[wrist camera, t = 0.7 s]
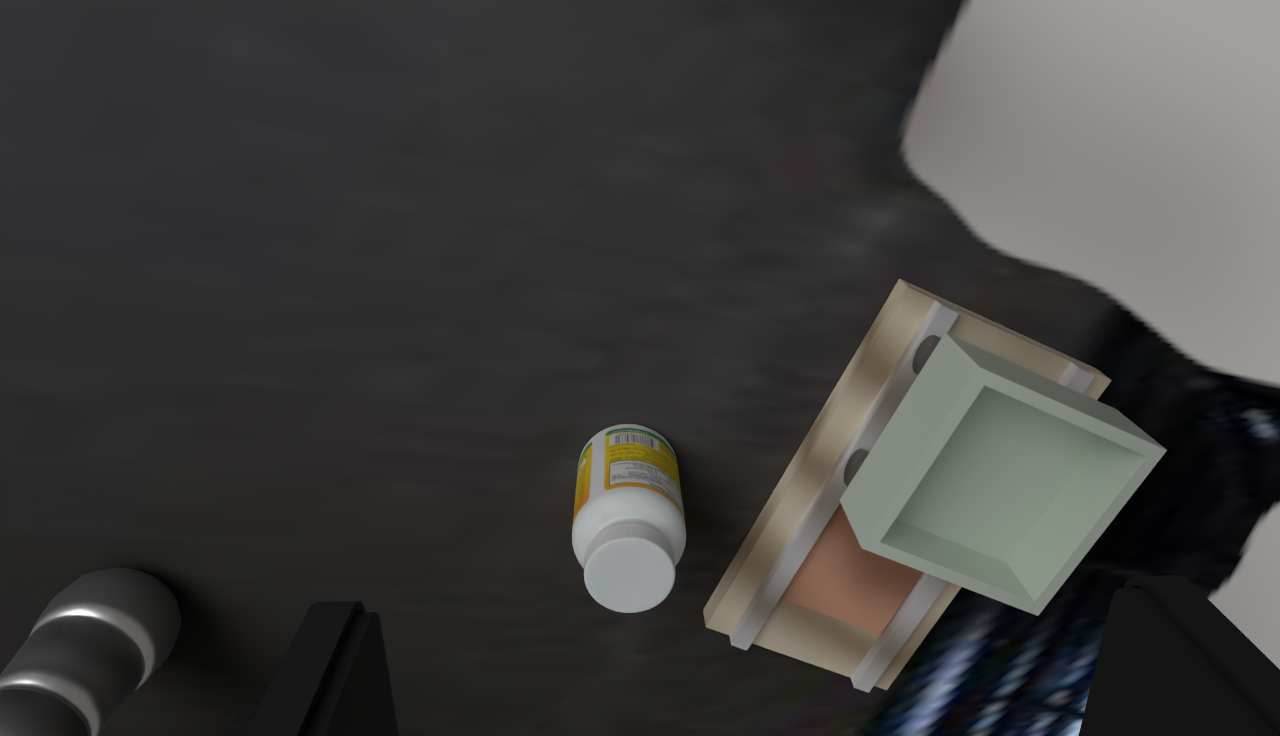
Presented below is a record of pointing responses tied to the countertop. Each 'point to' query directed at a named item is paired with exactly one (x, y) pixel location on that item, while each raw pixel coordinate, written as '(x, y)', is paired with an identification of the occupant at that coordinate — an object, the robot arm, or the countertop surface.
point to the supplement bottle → (628, 518)
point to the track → (818, 526)
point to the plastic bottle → (88, 654)
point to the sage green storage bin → (993, 475)
